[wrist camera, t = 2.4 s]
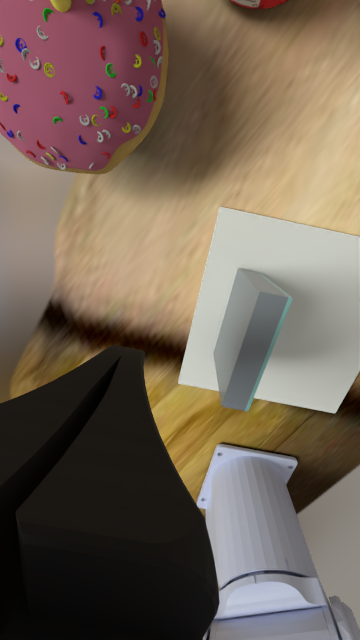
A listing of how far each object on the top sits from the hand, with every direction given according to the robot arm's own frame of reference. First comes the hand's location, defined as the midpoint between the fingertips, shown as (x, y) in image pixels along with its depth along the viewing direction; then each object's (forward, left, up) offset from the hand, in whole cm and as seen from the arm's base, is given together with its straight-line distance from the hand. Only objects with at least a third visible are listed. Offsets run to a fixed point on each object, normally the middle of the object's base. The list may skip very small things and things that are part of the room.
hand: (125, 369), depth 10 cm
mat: (0, -10, -9) cm, 14 cm away
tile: (0, -6, -9) cm, 11 cm away
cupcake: (+11, +5, -10) cm, 15 cm away
